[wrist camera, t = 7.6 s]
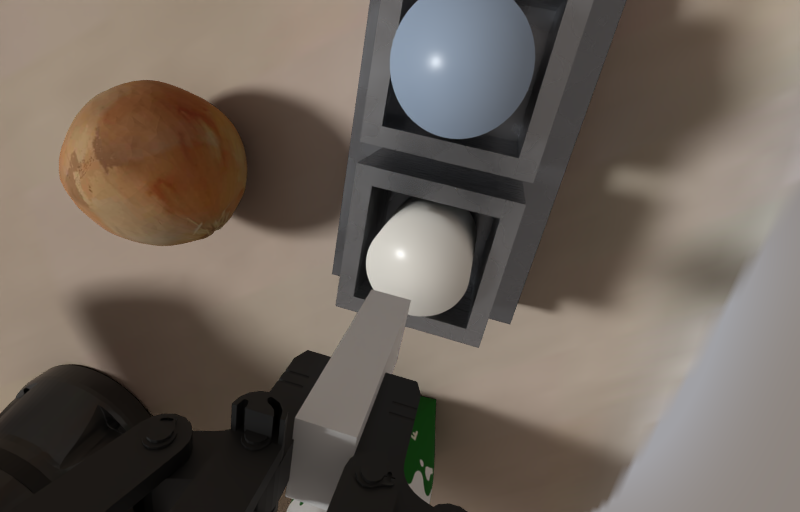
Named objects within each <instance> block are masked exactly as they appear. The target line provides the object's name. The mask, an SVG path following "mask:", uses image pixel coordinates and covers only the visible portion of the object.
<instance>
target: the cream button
mask: <svg viewBox="0 0 800 512" xmlns="http://www.w3.org/2000/svg"><path fill="white" fill-rule="evenodd" d="M476 239H477V231H476V225H475V222H474V219H473V217H472V215H471V214H470V212H469V211H468V210H465V209H461V208H457V207H453V206H449V205H445V204H441V203H437V202H433V201H429V200H426V199H422V198H418V197H414V196H413V197H411V198H409V199H408V200H406V201H405V202H404V203H403V204H402V205H401V206H400V207H399V208H398V209H397V211H396V212H395V213H394V214H393V216H392V217H391V218H390V219H389V221H388V222H387V223H386V224H385V226H384V227H383V228H382V229H381V231H380V232H379V233H378V234H377V236H376V237H375V238H374V240H373V241H372V243H371V245H370V247H369V249H368V253H367V257H366V271H367V276H368V279H369V282H370V284H371V286H372V288H373V289H374V290H376V291H380V292H383V293H387V294H391V295H394V296H398V297H401V298H405V299H409V300H411V303H410V307H409V311H408V315H412V316H433V315H437V314H440V313H443V312H445V311H447V310H449V309H450V308H452V307H453V306H454V305H456V304H457V303H458V302H459V301H460V299H461V298H462V297H463V295H464V293H465V292H466V290H467V287H468V284H469V280H470V274H471V268H472V263H473V257H474V251H475V246H476Z"/></svg>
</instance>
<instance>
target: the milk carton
mask: <svg viewBox="0 0 800 512" xmlns="http://www.w3.org/2000/svg"><path fill="white" fill-rule="evenodd" d="M435 416H436V399H431V398H427V397H423V396H421V397H420V401H419V405H418V409H417V413H416V417H415V421H414V425H413V430H412V434H411V438H410V442H409V446H408V450H407V454H406V458H405V462H404V474H405V478H406V480H407V483H408V485H409V486H410V488H411V489H412V490H413V492H414V493H415V494H417V495H418V496H419V497H420V498H421V499H423V500H424V501H425V502H427V503H428V504H430V499H431V492H432V484H433V475H434V457H435ZM286 512H327V511H326V510H323V509H320V508H317V507H315V506H312V505H309V504H306V503H303V502H300V501H297V500H294V499H292V501H291V503H290V505H289V507H288V509H287V511H286Z"/></svg>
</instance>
